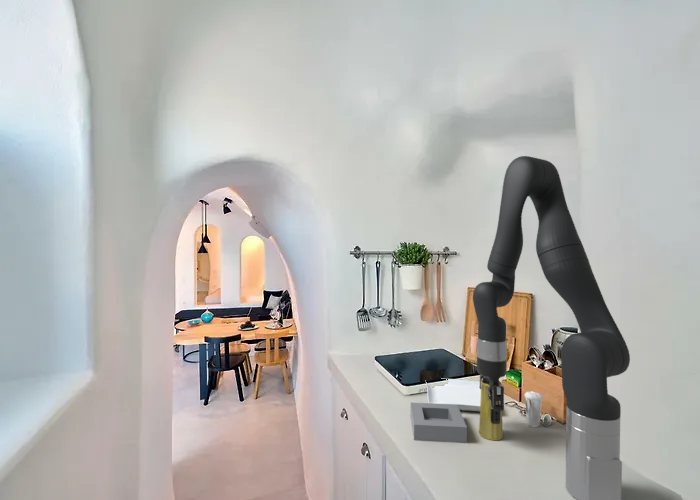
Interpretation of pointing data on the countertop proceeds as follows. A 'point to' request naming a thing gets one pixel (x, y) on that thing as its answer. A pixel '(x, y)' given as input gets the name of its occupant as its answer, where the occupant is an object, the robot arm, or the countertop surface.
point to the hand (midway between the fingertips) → (490, 415)
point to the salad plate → (457, 394)
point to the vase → (488, 417)
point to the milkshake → (533, 408)
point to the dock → (438, 422)
